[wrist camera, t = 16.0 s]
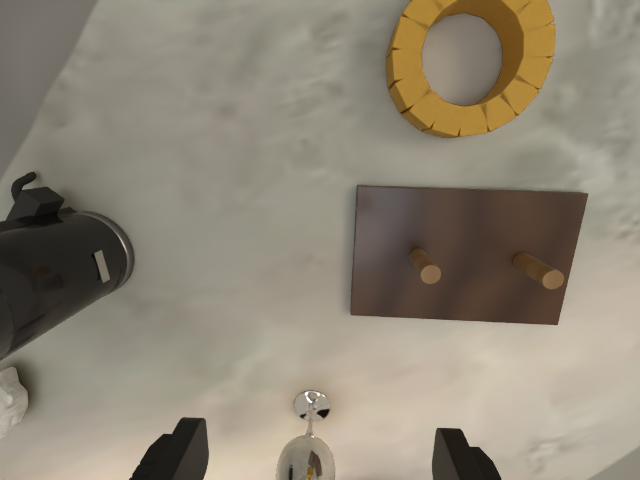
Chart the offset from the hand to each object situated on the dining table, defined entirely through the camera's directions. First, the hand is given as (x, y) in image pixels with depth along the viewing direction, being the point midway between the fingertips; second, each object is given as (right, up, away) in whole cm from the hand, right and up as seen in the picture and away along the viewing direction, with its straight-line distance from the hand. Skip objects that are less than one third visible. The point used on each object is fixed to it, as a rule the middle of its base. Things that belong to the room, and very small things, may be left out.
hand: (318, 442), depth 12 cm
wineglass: (-1, -13, +30) cm, 33 cm away
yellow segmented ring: (+13, +23, +19) cm, 32 cm away
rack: (+15, +5, +24) cm, 28 cm away
